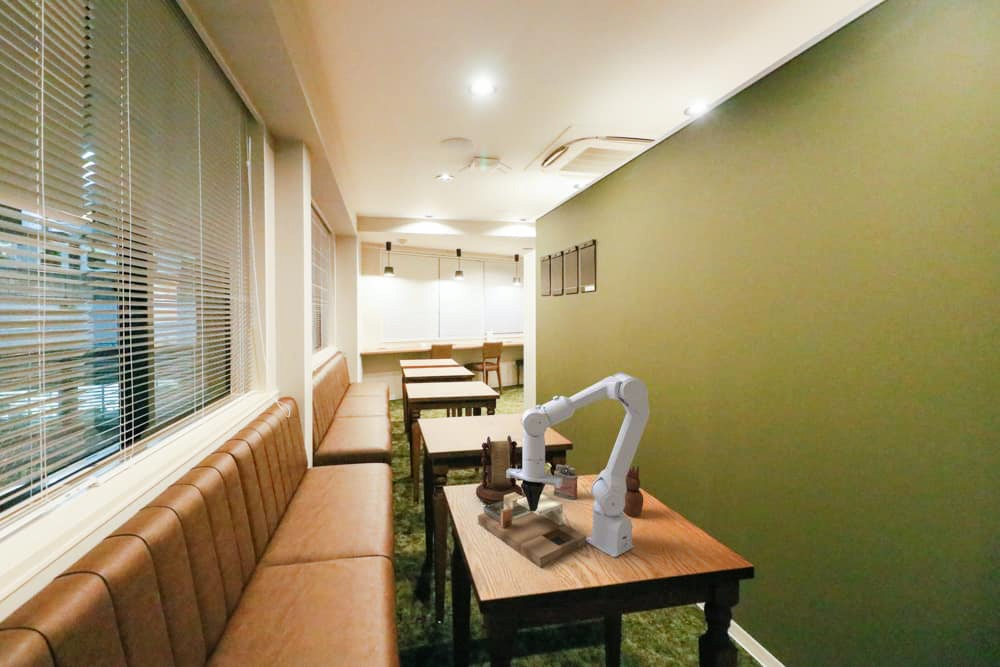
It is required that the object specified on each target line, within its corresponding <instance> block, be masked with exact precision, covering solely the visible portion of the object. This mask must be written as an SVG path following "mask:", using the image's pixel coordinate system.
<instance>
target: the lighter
mask: <svg viewBox="0 0 1000 667" xmlns="http://www.w3.org/2000/svg"><path fill="white" fill-rule="evenodd" d="M555 469H557V470H554V472H553V474H554V475H553V476H556V477H560V478H562V486H561V487H560V488H556V486H553V487H554V489H553V490H554V491H553V495H554V496H555V497H559V498H562V499H565V500H570V501H571V500H572V501H577V500H578V498H579V497H578V478H579V475H578V474H576V473H575V468H574V467H570V465H562V464H558V463H557V464H556V466H555Z"/></svg>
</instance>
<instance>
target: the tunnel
mask: <svg viewBox="0 0 1000 667" xmlns="http://www.w3.org/2000/svg"><path fill="white" fill-rule="evenodd" d="M517 503H518V504H520V505H522V506H523V507H525V508H526V510H525V511H523V512H520V513H517V514H515V515H512V524H511V525H509V526H506V527H501V523H500V522H498V521H497V520H495V519H494V518H492V517H491V516H489V515H488V514H486V513H484V512H483V513H481V514H478V515H477V525H479V526H480V527H482V528H484V529H485V530H486V531H487V532H489V533H490V534H491V535H493V536H494V537H496V538H497V539H499V540H500V541H501V542H503V543H504V544H505V545H507V546H509V547H510V548H511V549H513V550H514V551H516V552H517V553H518V554H520V555H521V556H522V557H524V558H525V559H527V560H528V561H529V562H531V563H533V564H534V565H536V567H538V568H539V569H541V568H543V567H545V566H547V565H549V564H551V563H553V562H555V561H557V560H559V559H561V558H563V557H565V556H567V555H570V554H572V553H573V552H576V551H577V550H579V549H582V548H584V547H586V546H587V542H586V539H587V535H586V534H584V533H582V532H580V531H578V530H576V529H575V528H573V527H571V526H569V525H568V524H565V523H564V522H563V512H564V511H563V508H564V505H563V503H562V502H561V501H558V500H557V499H554V498H552V497H550V496H549V495H546V494H544V493H543V492H542V493H541V496H540V499H539V503H538V508H537V510H536V511H535V512H534V511H530V509H529V505H528V501H527V498H526V496H523V498H521V499H518V500H517ZM503 510H504V507H501V508H498V509H495V510H494V511H496V512H497V513H501V511H503Z"/></svg>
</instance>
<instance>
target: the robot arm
mask: <svg viewBox="0 0 1000 667" xmlns="http://www.w3.org/2000/svg"><path fill="white" fill-rule="evenodd" d="M647 388H648V387H646V386H645V383H644V382H643V381H642V380H641V379H639V378H638V377H633V376H631V375H629V374H628V373H625V372H617V373H615V374H614V375H610V376H606V377H605V378H603V379H602V380H600V381H598V382H596V383H594V384H592V385H590V386H589V387H586V388H585V389H582V390H581V391H579V392H577V393H574V395H572V396H570V397H568V396H565V395H560V396H558V395H555V396H553V397H552V400H550V401H547V402H546V403H544V404H541V405H540V404H537V405H536V406H535V408H532V407H531V408H529V409H527V410H526V409H525V411H524V412H523V413H522V416H521V418H520V423H521V425H522V427H523V431H522V439H521V440H522V446H521V447H522V448H521V449H522V451H521V452H522V468H516V469H512V468H509V469H508V470H507V471H506V474H507V478H515V479H516V480H522V482H521V484H520V487H521V489H522V492H523V493H524V495H525V497H526V498H527V501H528V505H529V509H530V511H534V512H535V511H536V510H537V508H538V503H539V499H540V496H541V493H542V494H543V491H544V488H545V486H546V485H547V486H552V487H554V486H556V488H560V487H561V486H562V478H560V477H556V476H555V475H553V474H550V473H547V472H546V439H545V433H546V431H547V429H548V428H551V427H553V426H555V425H557V424H559V423H561V422H563V421H565V420H568V419H570V418H571V417H573V415H574V414H575V413H574V412H575V410H578V409H580V408H582V407H586V406H587V405H590V404H593V403H595V402H597V401H598V400H599V401H600V400H601V399H611V400H617V401H620V402H621V404H622V407H623V408H624V410H625V412H626V414H625V416H624V419H623V422H622V424H621V427H620V430H619V433H618V435H617V438H616V441H615V443H614V445H613V448H612V451H611V453H610V457H609V459H608V462H607V463H606V467H605V469H603V470H602V471H600V473H599V474H598V477H596V479H595V480H594V481H593V483H592V484H591V487H590V492H591V495H592V497H593V498H594V503H593V504H592V535H591V536H588V537H586V544H587V543H588V544H590V545H591V546H593V548H596V549H598V550H600V551H602V552H603V553H605V554H607V555H609V556H610V557H612V558H616V557H618V556H620V555H622V554H624V553H625V552H627V551H629V550H631V549H633V548H634V545H633V543H632V540H633V537H632V536H633V523H632V521H631V519H630V518H629V517H628V516H626V514H625V513H624V512H623V510H624V508H625V494H626V492H627V488H626V476H627V474H628V471H629V470H630V469H631V465H632V464H633V461H634V458H635V456H636V455H635V454H636V452H637V449H638V447H639V444H640V443H641V439H642V436H643V434H644V431H645V429H646V425H647V423H648V420H649V418H650V414H651V411H650V404H649V397H648V395H649V390H648V389H647Z"/></svg>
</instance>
